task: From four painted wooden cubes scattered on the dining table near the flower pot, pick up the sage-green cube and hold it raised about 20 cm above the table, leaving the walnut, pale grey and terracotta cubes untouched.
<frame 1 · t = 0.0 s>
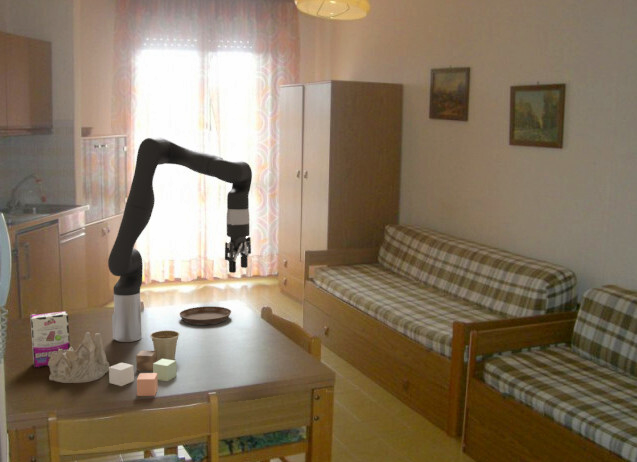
hand: (238, 269, 222), 29 cm above the table, tool pointing down, fingers open, 8 cm apart
walnut cube: (147, 368, 212), on the table
terracotta cube: (147, 392, 192), on the table
plant saucer: (205, 320, 268), on the table
flower pot: (165, 360, 220), on the table
candy bar box: (51, 363, 215), on the table
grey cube: (121, 382, 200), on the table
sage cube: (165, 377, 204), on the table
ceramic cottage: (80, 374, 206), on the table
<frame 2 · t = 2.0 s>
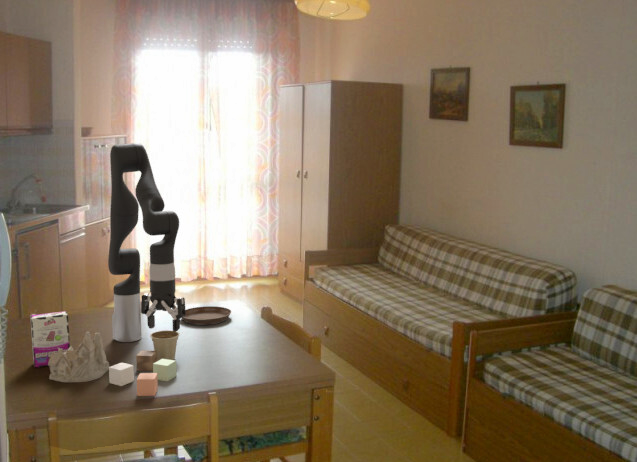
hand: (163, 329, 201), 15 cm above the table, tool pointing down, fingers open, 8 cm apart
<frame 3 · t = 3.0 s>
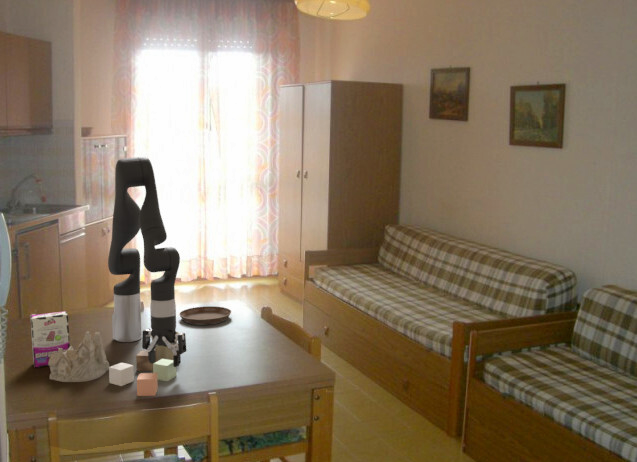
hand: (164, 364, 203), 4 cm above the table, tool pointing down, fingers open, 8 cm apart
nothing on the table moved.
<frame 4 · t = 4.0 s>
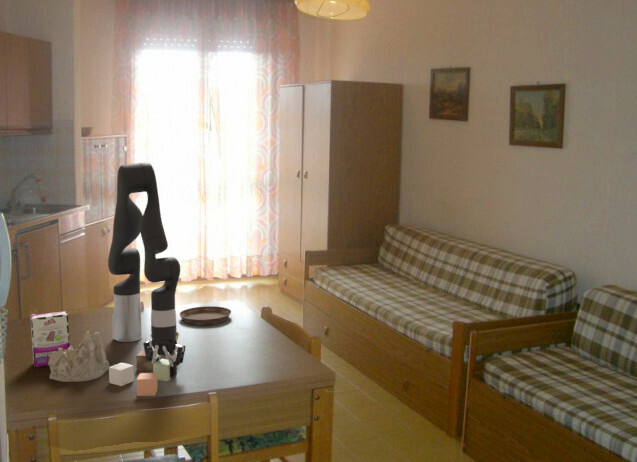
hand: (165, 375, 204), 1 cm above the table, tool pointing down, fingers closed on sage cube, 5 cm apart
sage cube: (165, 377, 204), on the table, touching gripper
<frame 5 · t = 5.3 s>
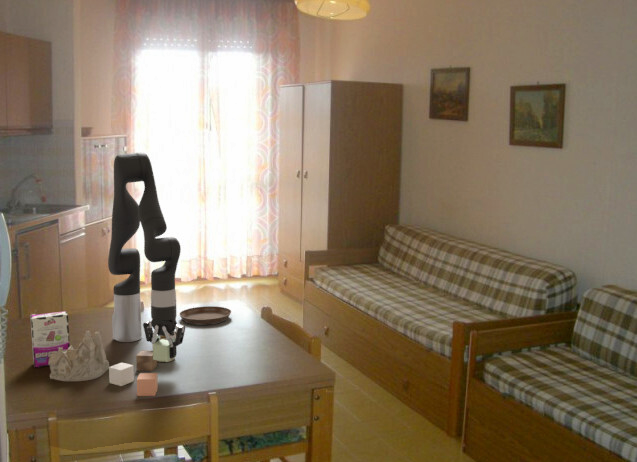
hand: (164, 356, 203), 7 cm above the table, tool pointing down, fingers closed on sage cube, 5 cm apart
sage cube: (164, 358, 203), point 6 cm above the table, touching gripper
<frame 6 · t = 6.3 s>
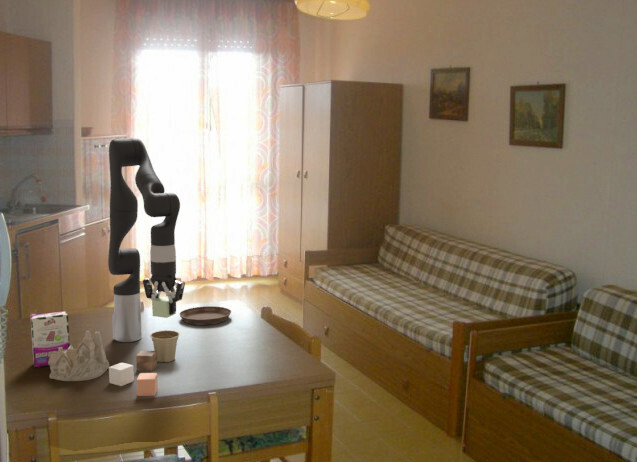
hand: (164, 312, 203), 20 cm above the table, tool pointing down, fingers closed on sage cube, 5 cm apart
sage cube: (164, 314, 203), point 19 cm above the table, touching gripper
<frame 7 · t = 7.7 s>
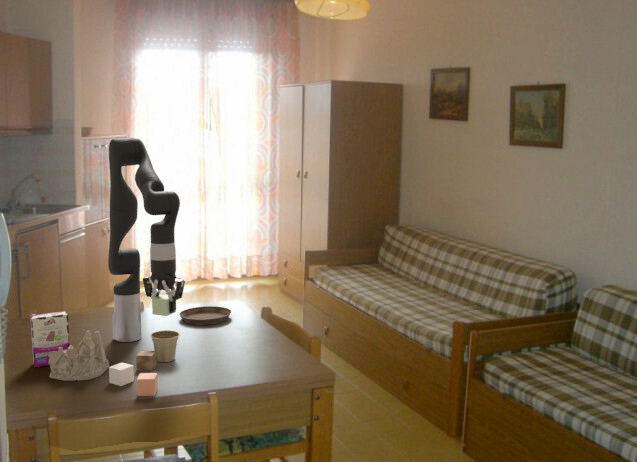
hand: (164, 311, 203), 20 cm above the table, tool pointing down, fingers closed on sage cube, 5 cm apart
sage cube: (164, 313, 203), point 20 cm above the table, touching gripper
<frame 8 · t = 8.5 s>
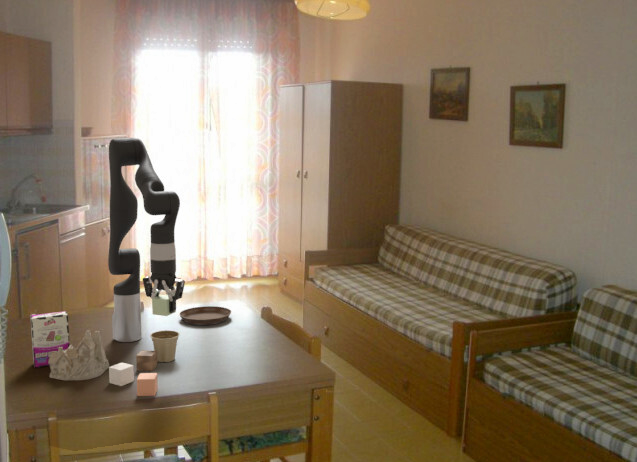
hand: (164, 311, 203), 20 cm above the table, tool pointing down, fingers closed on sage cube, 5 cm apart
sage cube: (164, 313, 203), point 20 cm above the table, touching gripper
at the end: the gripper is holding sage cube; sage cube point 19.7 cm above the table; walnut cube moved 0.1 cm from its start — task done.
